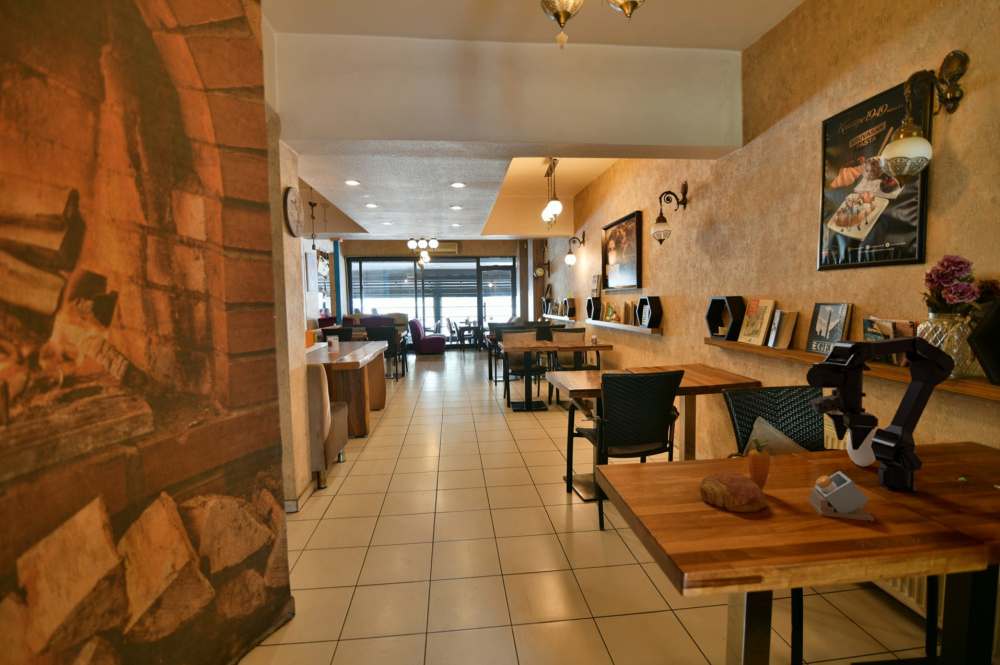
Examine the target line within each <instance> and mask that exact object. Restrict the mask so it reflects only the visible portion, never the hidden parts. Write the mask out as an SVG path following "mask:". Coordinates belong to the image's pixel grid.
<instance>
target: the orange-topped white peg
mask: <svg viewBox="0 0 1000 665" xmlns="http://www.w3.org/2000/svg"><path fill="white" fill-rule="evenodd" d="M829 477H830V476H829V475H821V476H820V477H818V478H816V481H815V485H818V486H819V487H820V488H821V489H822V490H823V491H824V492H825V493H826V494H828V493H829V492H831V491H833V490H834V489H836V488H838V487H837V486H836V485H835V483H834V482H833V481H832V480H831V479H830V478H829Z"/></svg>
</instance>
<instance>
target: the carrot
mask: <svg viewBox="0 0 1000 665" xmlns="http://www.w3.org/2000/svg"><path fill="white" fill-rule="evenodd" d="M752 440H753V442H754V445H753V447H754V448H755V449H752V450H750V451H749V453H748V471H749V475H750V476H749V477H750V478H751V479H752V480H753V481H754V482H755V483H756V484H757V485H758V486H759V488H760V489H761V490H762V491H763V489H764V487H765V485H766V483H767V481H768V477H769V472H770V465H771V457H770V456H771V455H770V454H769V452H767V451H765V450H764V448H765V447H767V446H768V442H769V439H768V438H765V439H764V441H763V443H762V444H761V442H760V440H759V438H757V437H756V436H755V437H753V438H752Z"/></svg>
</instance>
